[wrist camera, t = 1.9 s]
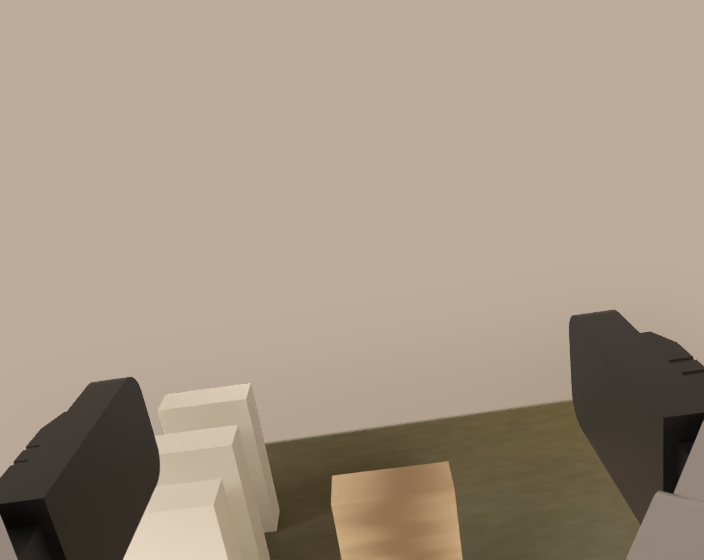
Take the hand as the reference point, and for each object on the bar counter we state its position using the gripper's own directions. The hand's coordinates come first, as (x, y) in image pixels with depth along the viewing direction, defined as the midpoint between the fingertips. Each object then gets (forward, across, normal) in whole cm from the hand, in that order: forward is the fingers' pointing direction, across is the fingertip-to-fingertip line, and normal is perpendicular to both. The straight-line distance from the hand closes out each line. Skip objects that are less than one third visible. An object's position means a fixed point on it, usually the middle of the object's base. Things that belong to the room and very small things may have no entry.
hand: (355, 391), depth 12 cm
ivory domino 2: (+22, +10, +20) cm, 31 cm away
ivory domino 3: (+17, +10, +20) cm, 28 cm away
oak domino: (+12, 0, +20) cm, 23 cm away
